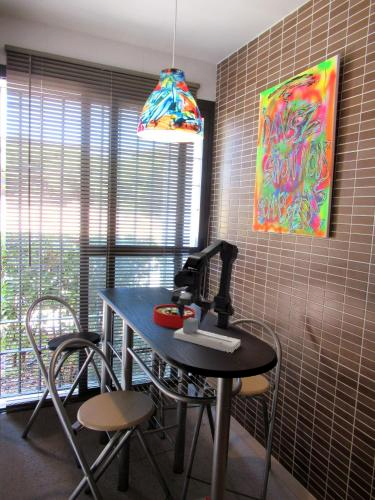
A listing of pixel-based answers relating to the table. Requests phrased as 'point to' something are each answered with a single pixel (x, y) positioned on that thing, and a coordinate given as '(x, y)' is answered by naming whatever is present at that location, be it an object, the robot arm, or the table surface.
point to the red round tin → (171, 316)
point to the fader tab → (190, 325)
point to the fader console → (209, 340)
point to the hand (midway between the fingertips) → (191, 321)
